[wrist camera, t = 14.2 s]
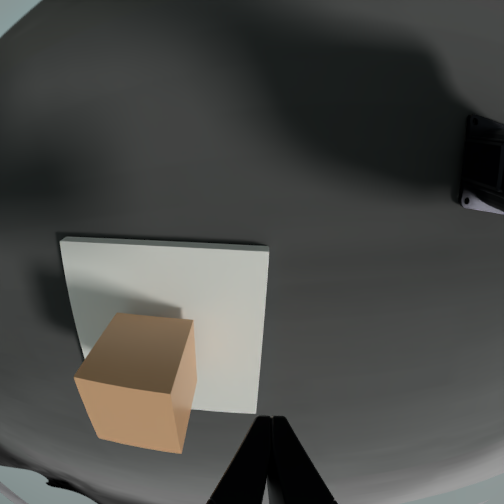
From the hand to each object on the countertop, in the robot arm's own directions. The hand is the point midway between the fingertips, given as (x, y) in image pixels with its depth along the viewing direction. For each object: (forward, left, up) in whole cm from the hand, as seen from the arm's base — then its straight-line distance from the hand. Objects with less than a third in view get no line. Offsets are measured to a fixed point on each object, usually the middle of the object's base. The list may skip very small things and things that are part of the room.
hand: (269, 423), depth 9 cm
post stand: (+7, +6, -13) cm, 15 cm away
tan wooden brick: (+7, +6, -11) cm, 14 cm away
